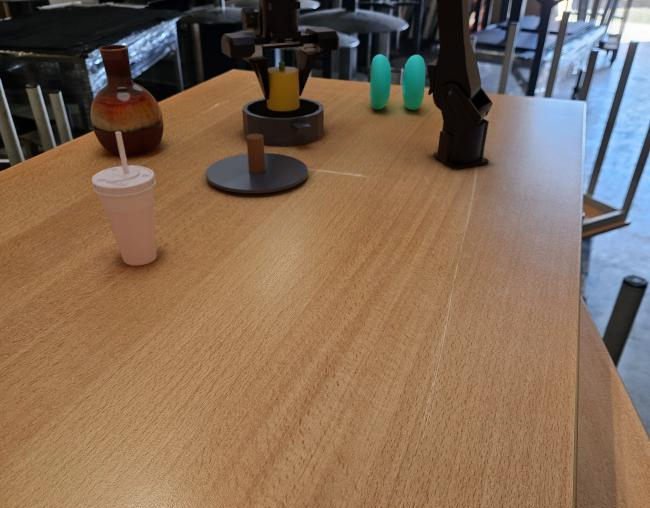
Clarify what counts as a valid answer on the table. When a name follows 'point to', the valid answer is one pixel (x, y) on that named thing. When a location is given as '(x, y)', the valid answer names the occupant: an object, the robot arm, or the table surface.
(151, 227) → the smoothie
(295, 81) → the pepper
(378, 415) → the table surface
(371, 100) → the teal upright capsules
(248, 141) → the pan lid
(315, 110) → the pan
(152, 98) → the vase
